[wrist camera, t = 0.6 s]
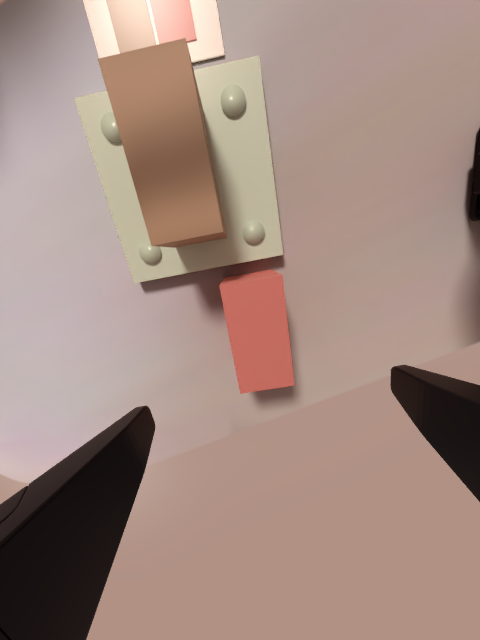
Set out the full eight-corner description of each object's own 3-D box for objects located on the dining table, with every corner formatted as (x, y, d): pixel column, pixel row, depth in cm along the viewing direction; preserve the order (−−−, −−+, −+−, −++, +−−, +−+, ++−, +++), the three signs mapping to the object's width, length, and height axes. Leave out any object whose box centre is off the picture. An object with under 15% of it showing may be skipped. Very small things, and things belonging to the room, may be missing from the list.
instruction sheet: (203, -79, 13) (203, -83, 13) (224, 55, 14) (224, 53, 14) (70, -45, 13) (68, -48, 13) (106, 83, 15) (105, 81, 15)
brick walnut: (143, 122, 15) (97, 58, 10) (202, 108, 14) (185, 38, 10) (175, 247, 17) (151, 245, 12) (227, 237, 17) (223, 231, 12)
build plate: (257, 68, 15) (259, 52, 13) (280, 254, 18) (283, 254, 17) (84, 107, 15) (71, 96, 14) (139, 281, 19) (132, 283, 17)
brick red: (224, 277, 19) (219, 286, 14) (270, 269, 19) (282, 275, 14) (239, 361, 21) (240, 393, 16) (281, 354, 21) (294, 385, 16)
